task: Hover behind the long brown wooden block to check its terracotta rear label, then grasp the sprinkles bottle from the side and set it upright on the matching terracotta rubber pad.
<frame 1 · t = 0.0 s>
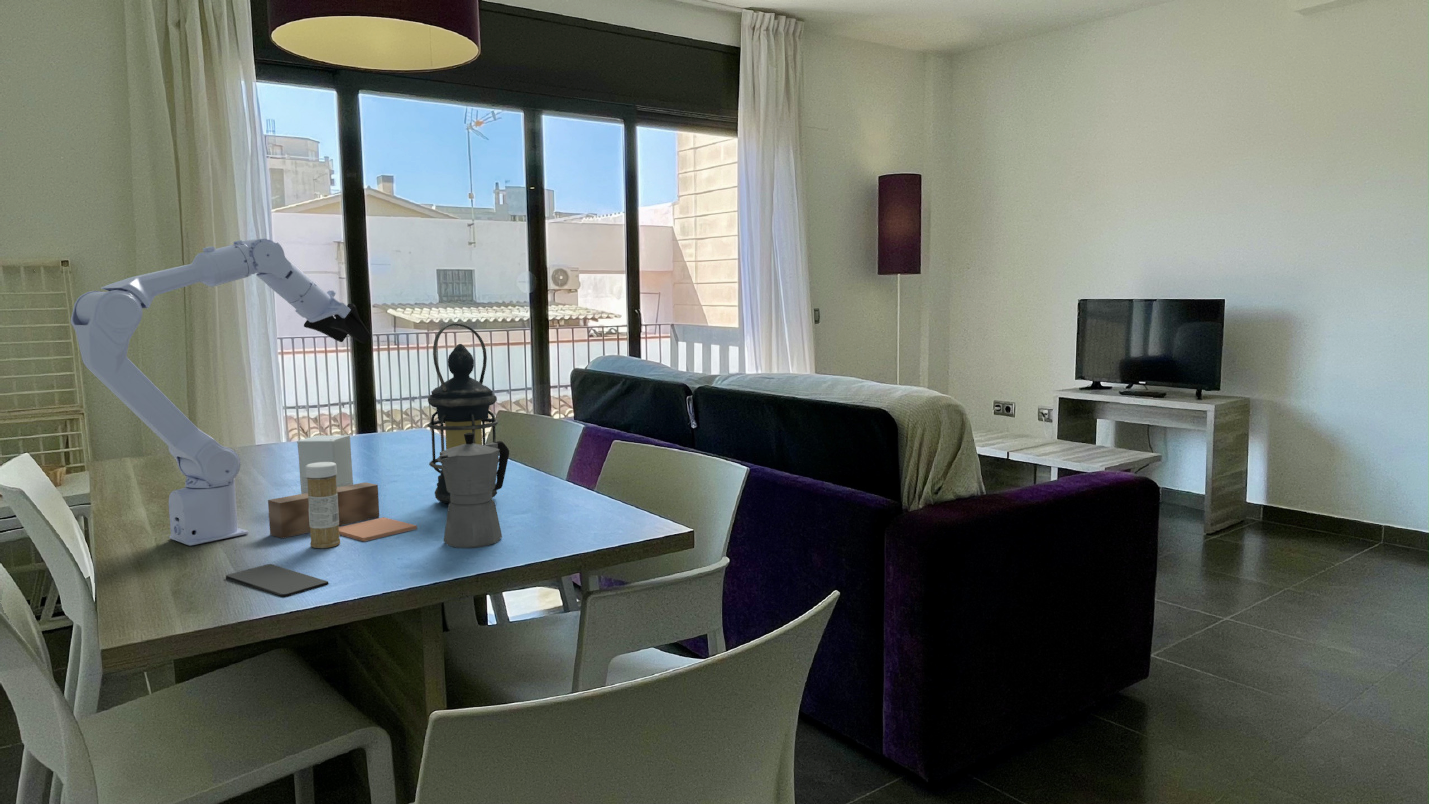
hand: (355, 338, 168), 32 cm above the table, fingers open, 7 cm apart
coffeepot: (478, 540, 147), on the table
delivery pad: (374, 530, 153), on the table
long brown wooden block: (326, 525, 156), on the table
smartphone: (277, 585, 125), on the table
sprinkles bottle: (325, 546, 143), on the table
supplement box: (328, 501, 176), on the table
lantern: (466, 503, 174), on the table
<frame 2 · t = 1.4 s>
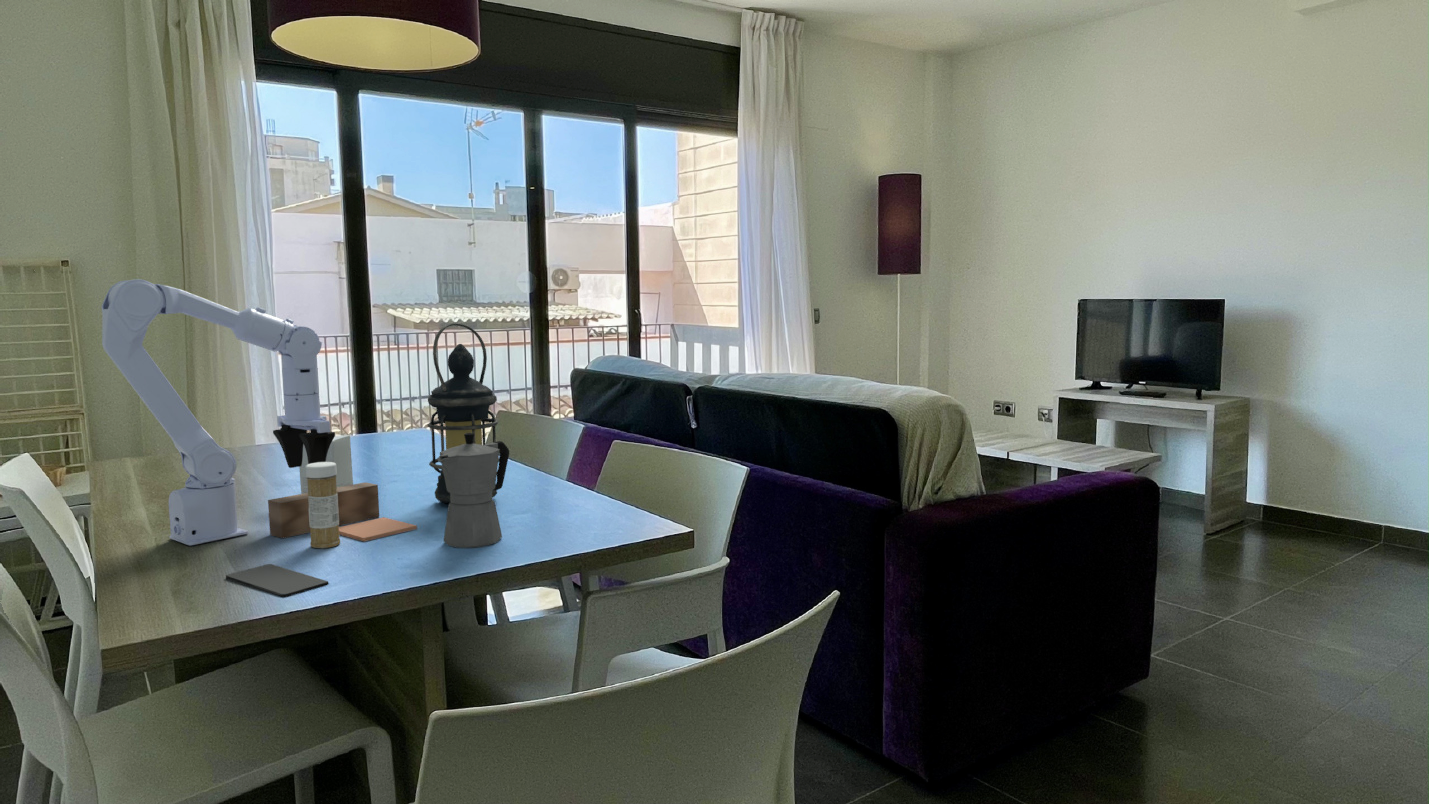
hand: (305, 469, 159), 9 cm above the table, fingers open, 7 cm apart
nothing on the table moved.
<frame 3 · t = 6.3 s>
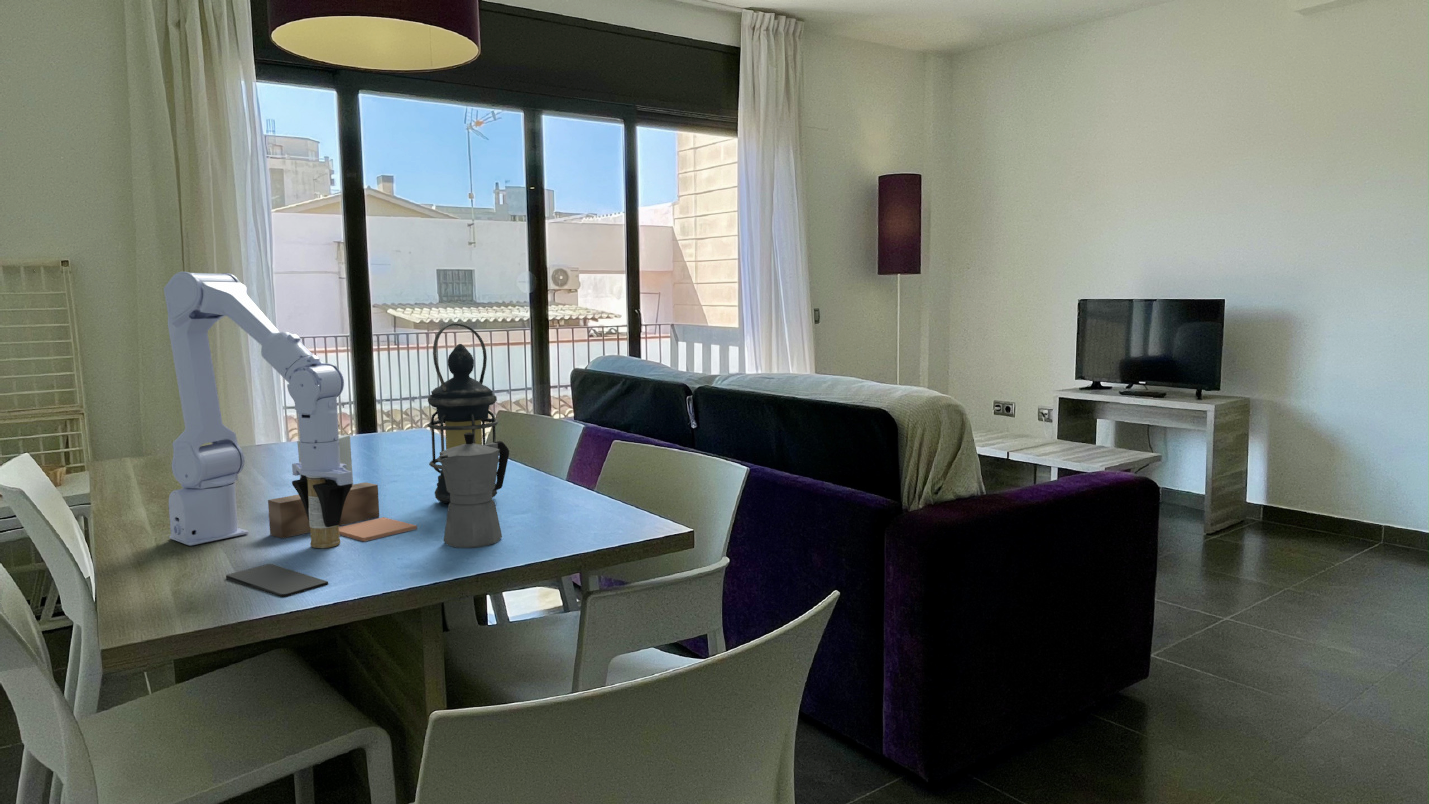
hand: (324, 523, 143), 4 cm above the table, fingers closed on sprinkles bottle, 4 cm apart
sprinkles bottle: (325, 546, 143), on the table, touching gripper
everything else where it was.
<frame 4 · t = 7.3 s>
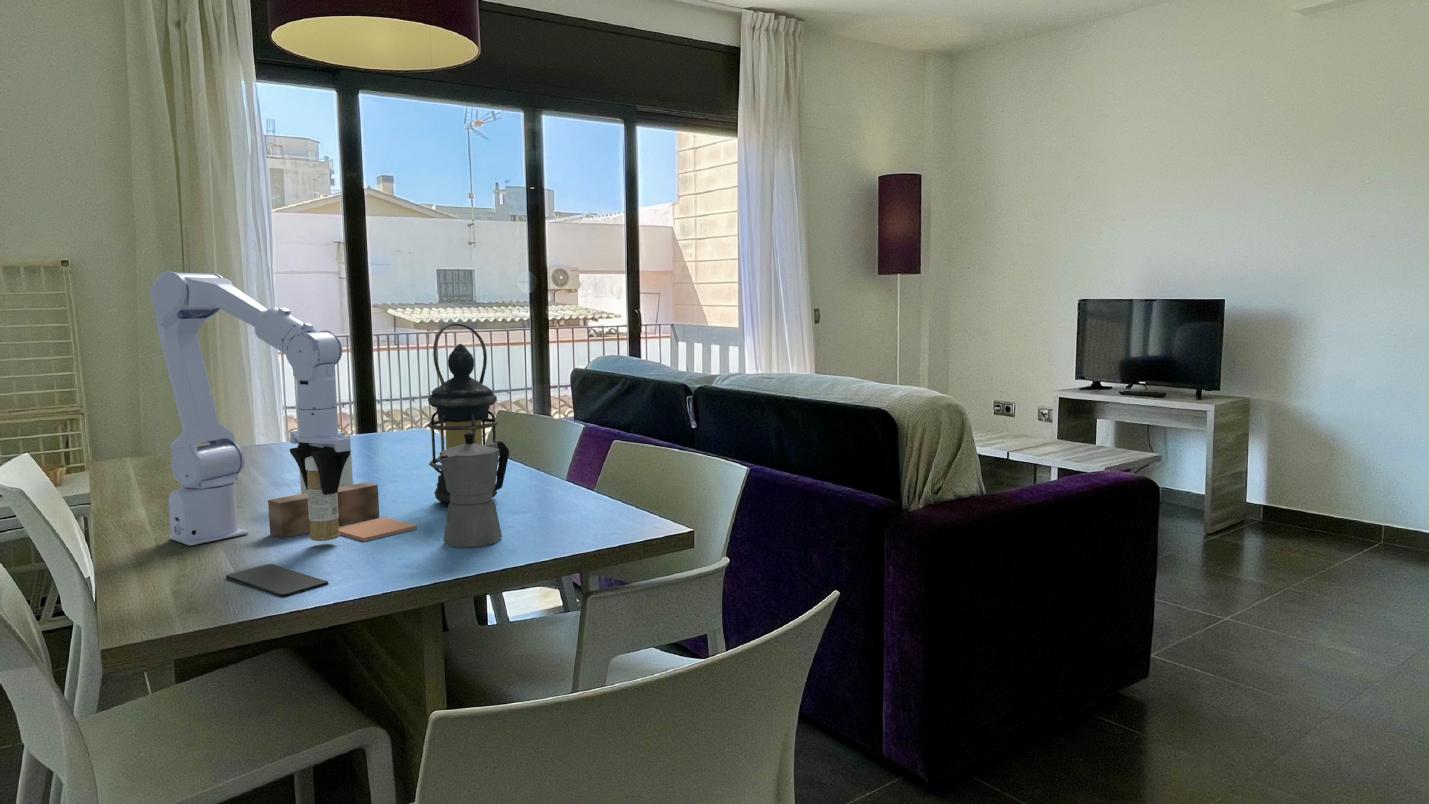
hand: (322, 491, 142), 9 cm above the table, fingers closed on sprinkles bottle, 4 cm apart
sprinkles bottle: (325, 539, 143), point 1 cm above the table, touching gripper
everything else where it was.
when the fingers open (8 cm above the table, at t = 8.8 s): sprinkles bottle stays where it is, resting on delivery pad.
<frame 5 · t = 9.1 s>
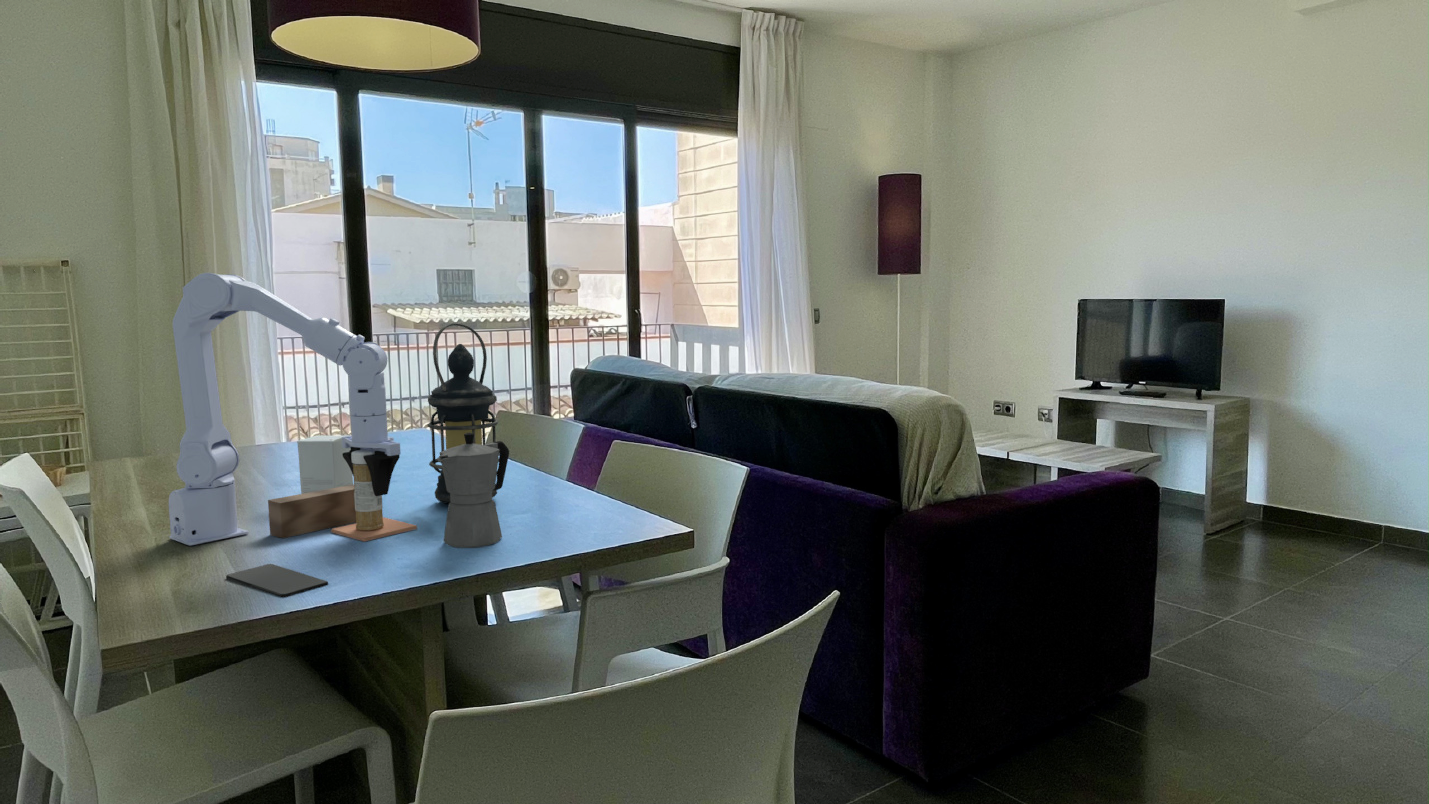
hand: (372, 493, 152), 7 cm above the table, fingers open, 4 cm apart
sprinkles bottle: (370, 529, 152), resting on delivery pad, touching gripper
everything else where it was.
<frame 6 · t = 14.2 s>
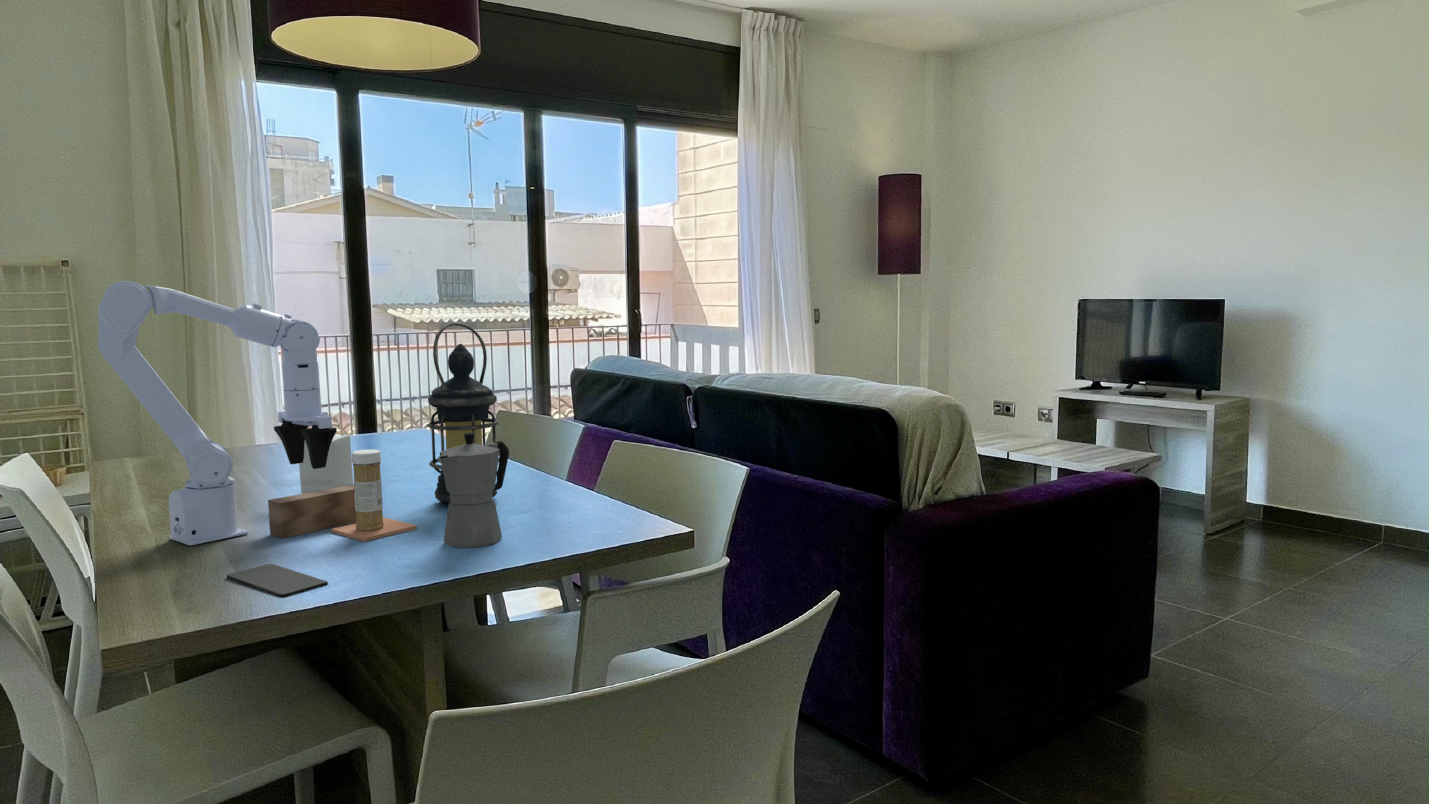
hand: (307, 465, 157), 10 cm above the table, fingers open, 7 cm apart
sprinkles bottle: (370, 529, 152), resting on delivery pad
everything else where it was.
at the end: sprinkles bottle inside the target area on the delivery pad (0.9 cm from its centre), point 0.4 cm above the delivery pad's base; sprinkles bottle tilted 0°; the gripper is holding nothing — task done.
